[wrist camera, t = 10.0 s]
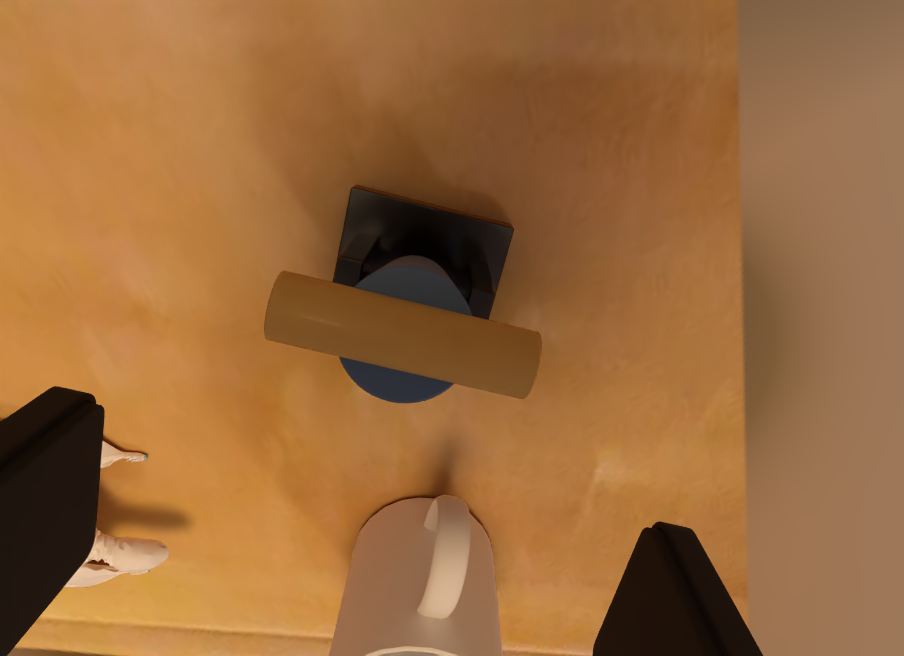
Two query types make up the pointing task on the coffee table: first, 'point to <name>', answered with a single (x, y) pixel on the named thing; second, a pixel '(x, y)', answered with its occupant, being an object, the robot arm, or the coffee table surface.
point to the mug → (420, 584)
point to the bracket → (423, 243)
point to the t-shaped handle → (403, 333)
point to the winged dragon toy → (118, 543)
